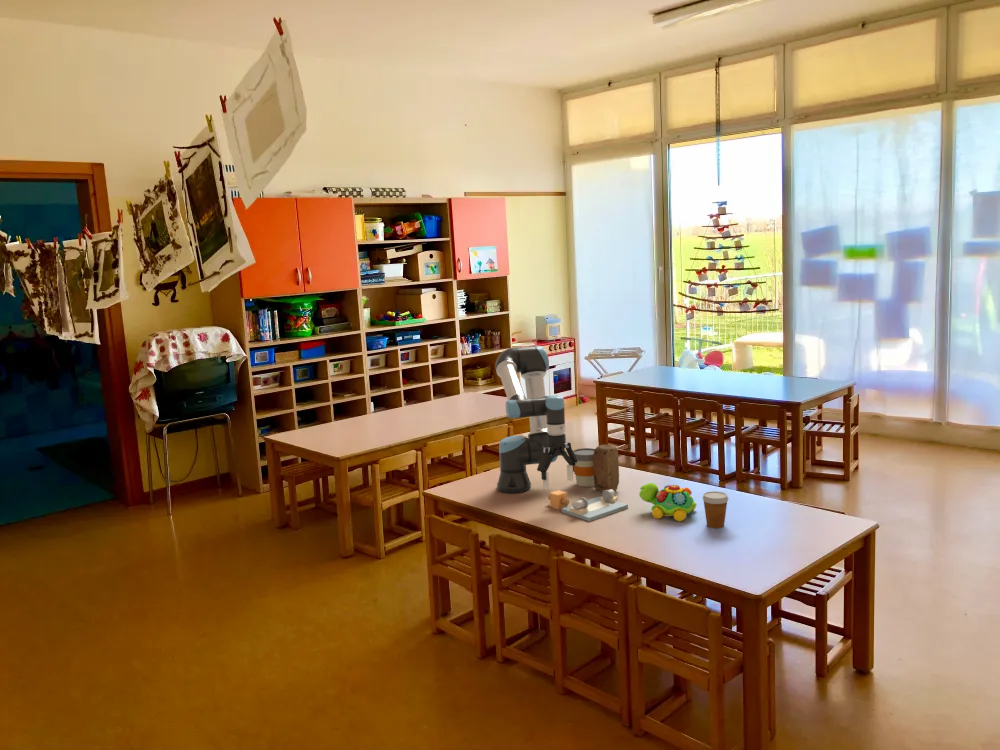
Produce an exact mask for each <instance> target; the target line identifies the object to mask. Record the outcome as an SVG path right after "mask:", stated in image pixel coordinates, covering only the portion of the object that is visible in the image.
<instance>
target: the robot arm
mask: <svg viewBox="0 0 1000 750" xmlns="http://www.w3.org/2000/svg"><path fill="white" fill-rule="evenodd" d="M549 361H550V360H549V356H548V352H547V350H546V349H545V347H543V346H541V345H538V346H537V345H532V346H520V347H519V346H518V347H510V348H507V349H505V350H502V352H501V353H500V354H499V355H498V357H497V359H496V361H495V366H494V367H495V371H496V375H497V376H498V377H499V378H500V380H501V383H502V386H503V388H504V389H503V390H504V393H505V394H506V398H507V401H506V402H505V412H506V416H507V418H509V419H519V418H528V419H529V428H530V432H529V433H528V434H527V438H526V437H525V436H524V435H521V434H519V435H512V436H511V435H510V436H507V437H504V438H503V439H501V440H500V441H499V444H498V445H499V448H498V453H499V471H500V473H499V476H498V479H497V480H498V481H497V483H496V484H497V485H496V489H497V491H499V492H501V493H505V494H518V493H524V492H527V491H529V490H530V489H531V488H532V487H531V486H532V484H531V480H530V477H529V475H528V472H527V466H528V465H537V468H536V470H537V472H541V473H540V474H541V480H542V486H543V488H546V489H549V488H550V484H549V483H550V481H549V471H548V470H549V468H550V465H551V464H552V463H555V462H556V461H557V459H558V457H559V456H561V457H562V458H563V459H564V460H565V462H566V463H567V464H566V473H567V474H566V478H567V481H569V482H573V481H574V465H575V463H577V459H576V457H575V455H574V452H573V451H574V449H572V443H571V442H569V441H567V440H566V439H567V438H566V419H565V418H566V417H565V416H566V415H565V406H566V405H565V404H566V403H565V398H564V397H563V396H562V395H557V394H556V395H546V388H545V382H544V381H545V380H544V378H545V376H547V371H549V369H550V365H549V363H550V362H549ZM518 373H520V377H521V379H523V380H524V382H525V384H524V385H525V392H524V389H523V386H522V384H521V383H522V382H521V380H520V379H519V375H518Z"/></svg>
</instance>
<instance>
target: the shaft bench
mask: <svg viewBox="0 0 1000 750" xmlns="http://www.w3.org/2000/svg"><path fill="white" fill-rule="evenodd" d="M615 492H616V491H615ZM615 492H614V490H613V489H610V490H604V491H603V492H602V491H601V496H600V495H599V496H595V497H592V498H589V499H587V498H586V497H584V496H583V497H580V498H579V500H578V501H574V502H573V503H572V504H571V505H567V507H564V508H561V512H562V514H566V515H570V516H572V517H574V518H579V519H581V520H583V521H586V520H587V522H589V521H590V522H592V521H595V520H598V519H601V518H603V517H607V516H609V514H610V515H613V514H615V513H618V512H621V511H624V510H626V508H627V509H629V505H628V504H627V503H624V502H620V501H618V496H615V495H616V493H615ZM623 509H624V510H623ZM620 510H621V511H620ZM612 513H613V514H612Z"/></svg>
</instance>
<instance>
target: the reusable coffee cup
mask: <svg viewBox="0 0 1000 750" xmlns="http://www.w3.org/2000/svg"><path fill="white" fill-rule="evenodd" d="M594 450H595V448H592V447H591V448H590V447H589V448H588V447H583V448H577V449H573V452H574V455H575V457H576V459H577V463H575V465H574V472H573V475H575V479H576V480H575V481H576V485H577V486H578V485H579V486H578V487H583V486H585V488H588V486H590V487H595V486H594V469H593V453H594ZM586 486H587V487H586Z"/></svg>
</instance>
